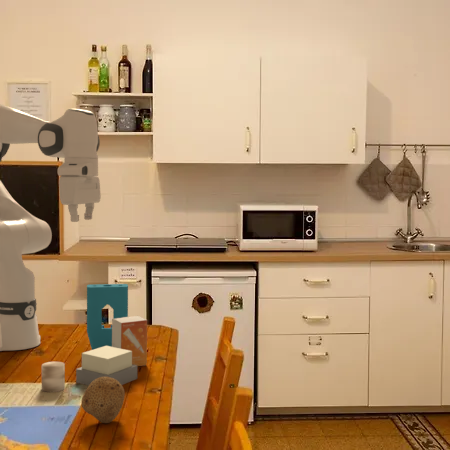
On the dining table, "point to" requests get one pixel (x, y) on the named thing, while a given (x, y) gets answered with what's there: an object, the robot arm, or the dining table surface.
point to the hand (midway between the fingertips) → (81, 220)
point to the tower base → (121, 376)
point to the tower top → (106, 360)
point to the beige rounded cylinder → (53, 376)
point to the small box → (131, 337)
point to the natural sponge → (103, 399)
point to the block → (95, 303)
